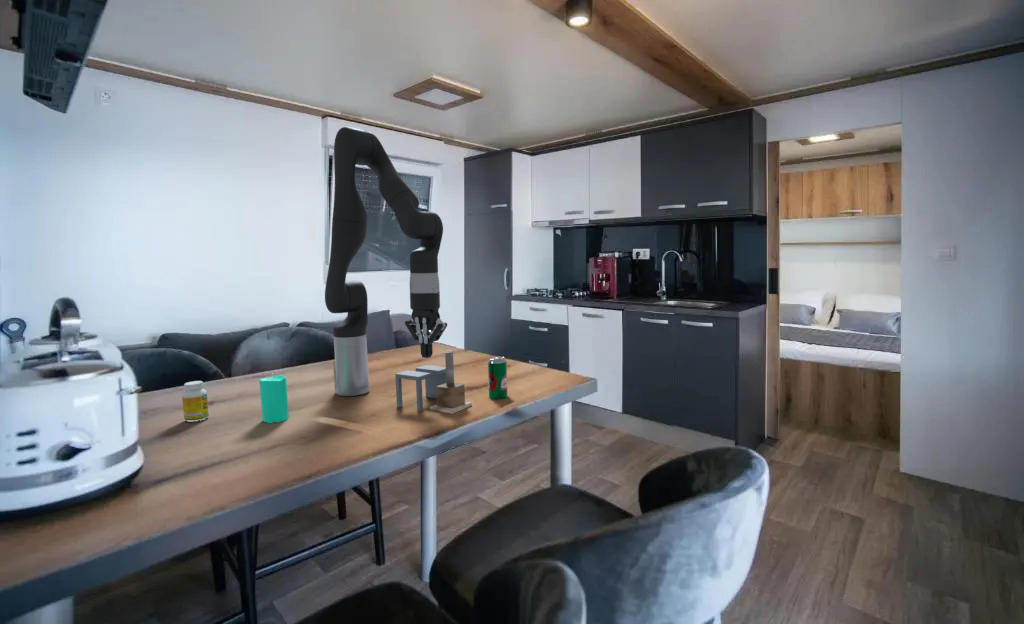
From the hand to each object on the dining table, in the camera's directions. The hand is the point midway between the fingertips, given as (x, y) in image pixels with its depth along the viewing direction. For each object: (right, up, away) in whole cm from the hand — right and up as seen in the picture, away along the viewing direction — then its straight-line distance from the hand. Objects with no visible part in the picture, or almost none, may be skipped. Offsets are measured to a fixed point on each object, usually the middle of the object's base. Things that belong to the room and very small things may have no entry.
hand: (426, 357), depth 132 cm
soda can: (+18, -13, +6) cm, 23 cm away
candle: (-37, -15, -4) cm, 40 cm away
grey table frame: (-2, -13, +3) cm, 14 cm away
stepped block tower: (+7, -13, -3) cm, 14 cm away
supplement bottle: (-58, -16, -3) cm, 60 cm away
